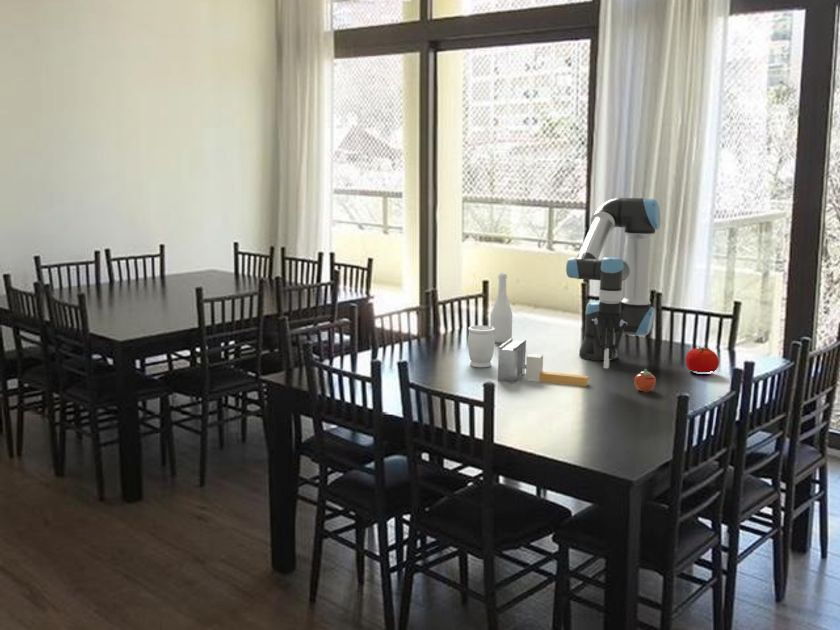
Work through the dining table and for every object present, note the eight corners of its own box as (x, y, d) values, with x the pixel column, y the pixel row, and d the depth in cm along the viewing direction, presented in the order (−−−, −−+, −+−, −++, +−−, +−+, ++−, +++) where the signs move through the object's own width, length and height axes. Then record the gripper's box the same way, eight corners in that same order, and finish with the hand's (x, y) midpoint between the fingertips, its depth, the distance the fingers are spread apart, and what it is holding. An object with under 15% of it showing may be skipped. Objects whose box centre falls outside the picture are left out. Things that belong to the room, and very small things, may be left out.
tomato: (692, 368, 340) (694, 342, 338) (723, 374, 331) (725, 348, 329) (677, 373, 332) (679, 346, 331) (708, 379, 324) (710, 352, 322)
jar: (492, 369, 334) (493, 331, 332) (465, 367, 336) (466, 329, 334) (495, 363, 345) (496, 325, 342) (469, 361, 347) (470, 324, 344)
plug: (588, 383, 316) (589, 359, 315) (585, 386, 312) (587, 362, 310) (523, 376, 325) (524, 353, 323) (520, 379, 320) (521, 355, 319)
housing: (524, 372, 330) (526, 339, 328) (513, 383, 316) (514, 348, 313) (509, 371, 332) (510, 338, 330) (497, 381, 318) (498, 346, 315)
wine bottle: (512, 343, 379) (514, 275, 374) (490, 343, 379) (492, 274, 374) (510, 338, 389) (512, 272, 383) (489, 338, 389) (491, 271, 383)
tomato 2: (642, 394, 303) (643, 372, 301) (629, 389, 309) (630, 367, 308) (659, 392, 306) (661, 370, 304) (646, 387, 312) (647, 365, 311)
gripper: (630, 301, 307) (626, 367, 311) (593, 298, 312) (589, 363, 316) (627, 304, 300) (623, 371, 304) (589, 301, 305) (585, 367, 309)
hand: (606, 367), depth 310 cm, fingers closed
